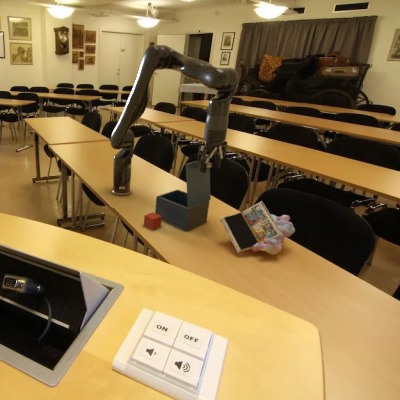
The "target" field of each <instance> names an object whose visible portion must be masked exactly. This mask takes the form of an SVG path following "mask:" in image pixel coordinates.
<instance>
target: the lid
mask: <svg viewBox="0 0 400 400" xmlns="http://www.w3.org/2000/svg"><path fill="white" fill-rule="evenodd" d="M205 160H206V157H205ZM200 167H201V162H198V161H197V160H195V161H191V162H188V163H185V179H186V180H185V181H186V193H187V203H188V208H191V207H193V206H196V205H198V204H201V203H204V202H206V201H211V169H212V168H214V163H212V162H210V159H209V160H208V162H207V171H206V173H202V172H200Z"/></svg>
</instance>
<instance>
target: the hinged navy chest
mask: <svg viewBox="0 0 400 400" xmlns="http://www.w3.org/2000/svg"><path fill="white" fill-rule="evenodd" d="M210 201H211V200H209V201H206V202H204V203H201V204H198V205H196V206H193V207H191V208H188V203H187V191H183V190H181V189H174V190H171V191H169V192H165V193H163V194H159V195H157V196H156V199H155V212H154V213H156V214H158V215H160V216H162V218H161V221H163V222H165V223H167V224H170V225H171V226H174V227H176V228H178V229H181V230H183V231H185V232H186V231H189V230H191V229H193V228H196V227H198V226H201V225H203V224H205V223H207V221H208V214H209V208H210Z"/></svg>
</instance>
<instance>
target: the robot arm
mask: <svg viewBox="0 0 400 400" xmlns="http://www.w3.org/2000/svg"><path fill="white" fill-rule="evenodd" d="M160 70H172V71H176V72H179V73H180V74H181V75H182V76H183V77H185V78H187V79H189V80H191V81H194V82H196V83H200V84H201V85H203V86H204V87H206V88H208V89H210V90H213V91H216V94H215V96H213V97H211V98H210V99H209V102H208V108H207V114H206V119H205V124H204V130H203V131H204V133H203V141H205V144H204V145H202V144H200V145H199V146H198V151H197V152H198V153H197V158H196V161H198V162H201V167H200V172H202V173H206V171H207V162H208V160H209V161H210V159H212V157H214V163H213V168H214V169H220V168H221V163H222V160H223V158H225V157H226V156H227V150H228V149H227V148H228V141H227V140H226V138H227V133H228V125H229V116H230V115H229V114H230V110H231V109H230V107H231V102H232V100H233V97H234V95H235V93H236V90H237V87H238V84H239V73H238V71H237V70H236V69H235V68H233V67H216V66H213V64H212V63H210V62H208V61H205V60H201V59H198V58H196V57H195V58H194V57H192V56H188V55H184V54H183V53H181V52H178V51H177V50H175V49H173V48H172V47H170V46H168V45H165V44H151V45H149V46H148V47H147V48H146V49H145V51H144V52H143V55H142V58H141V61H140V64H139V68H138V72H137V74H136V77H135V81H134V82H133V86H132V88H131V91H130V93H129V95H128V97H127V100H126V103H125V105H124V108H123V111H122V113H121V114H120V118H119V120H118V122H117V123H116V126H115V127H114V129H113V131H112V133H111V135H110V140H109V141H110V142H109V143H110V146H111V148H112V149H114V150H118V152H117V153H115V155H113V161H112V162H113V163H112V164H113V166H112V167H113V169H112V170H113V173H112V194H113V195H117V196H128V195H130V194H131V183H132V161H133V158H134V151H135V134H134V132H133V131H132V130H131V128H132V126H133V125H134V124H135V123H136V122H138V120H139V119H141V117H142V116H143V115H144V113H145V111H146V109H147V107H148V105H149V103H150V99H151V92H150V83H151V80H152V76H153V75H154V73H155V71H160ZM205 158H206V160H205Z"/></svg>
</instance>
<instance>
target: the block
mask: <svg viewBox="0 0 400 400" xmlns="http://www.w3.org/2000/svg"><path fill="white" fill-rule="evenodd" d="M161 218H162V216H160V215H158V214H156V213H155V212H153V211H152V212H149V213H147V214H144V216H143V227H145V228H147V229H148V230H151V231H154V230H157V229H159V228H161V227H162V220H161Z"/></svg>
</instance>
